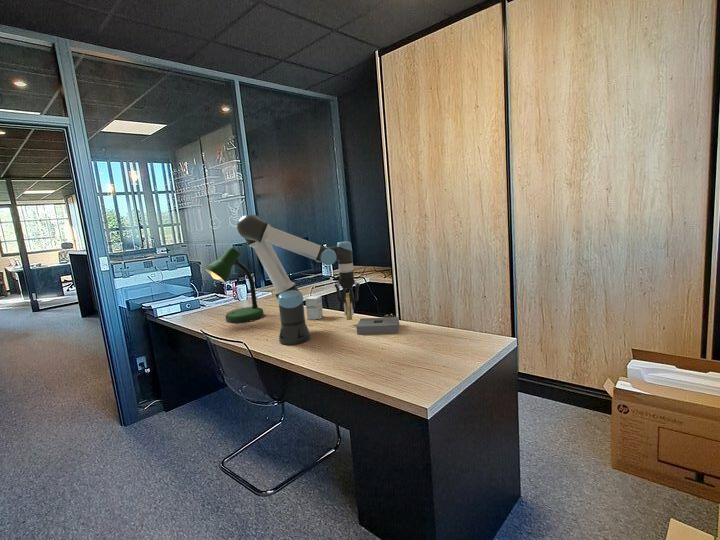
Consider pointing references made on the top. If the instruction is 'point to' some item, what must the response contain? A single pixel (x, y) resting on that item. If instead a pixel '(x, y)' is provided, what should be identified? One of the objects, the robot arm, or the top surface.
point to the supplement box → (314, 307)
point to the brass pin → (348, 306)
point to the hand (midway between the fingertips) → (349, 314)
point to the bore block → (378, 325)
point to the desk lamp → (222, 272)
